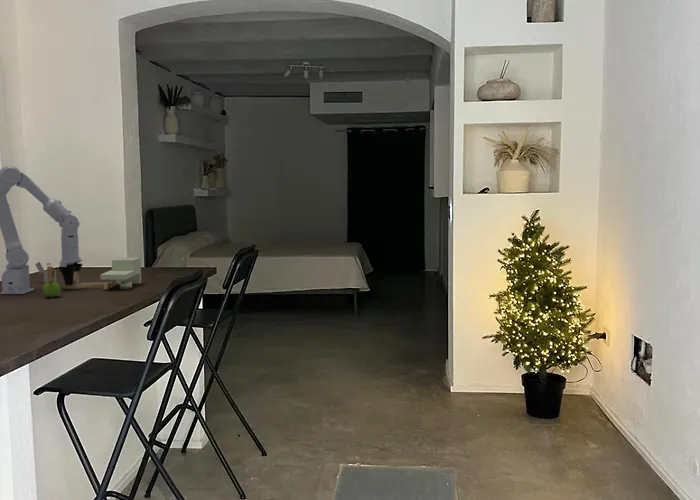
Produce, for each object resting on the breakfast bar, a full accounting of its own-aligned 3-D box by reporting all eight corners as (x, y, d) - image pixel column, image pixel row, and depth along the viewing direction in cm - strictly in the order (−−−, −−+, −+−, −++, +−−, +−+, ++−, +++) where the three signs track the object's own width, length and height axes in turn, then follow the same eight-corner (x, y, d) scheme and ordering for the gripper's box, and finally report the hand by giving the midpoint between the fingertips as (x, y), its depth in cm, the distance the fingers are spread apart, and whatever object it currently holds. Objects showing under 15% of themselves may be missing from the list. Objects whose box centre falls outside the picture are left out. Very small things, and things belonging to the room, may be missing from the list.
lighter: (56, 281, 249) (55, 261, 249) (55, 282, 248) (54, 262, 247) (37, 282, 248) (36, 261, 247) (35, 282, 246) (34, 262, 246)
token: (130, 289, 234) (130, 282, 234) (118, 289, 234) (117, 282, 233) (133, 287, 238) (133, 280, 238) (121, 287, 238) (121, 280, 238)
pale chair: (126, 291, 229) (125, 263, 228) (100, 291, 228) (100, 263, 228) (141, 282, 248) (140, 257, 247) (117, 282, 248) (117, 257, 247)
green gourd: (41, 299, 211) (39, 263, 210) (44, 296, 217) (43, 261, 216) (58, 298, 213) (57, 263, 211) (62, 295, 219) (60, 260, 218)
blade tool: (106, 289, 232) (106, 273, 231) (62, 289, 231) (61, 273, 231) (113, 286, 239) (112, 270, 238) (69, 286, 238) (69, 270, 238)
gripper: (73, 249, 226) (74, 287, 228) (88, 245, 241) (89, 281, 242) (53, 249, 226) (54, 287, 227) (69, 245, 240) (70, 281, 242)
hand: (71, 284), depth 235 cm, fingers closed on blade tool, 4 cm apart
